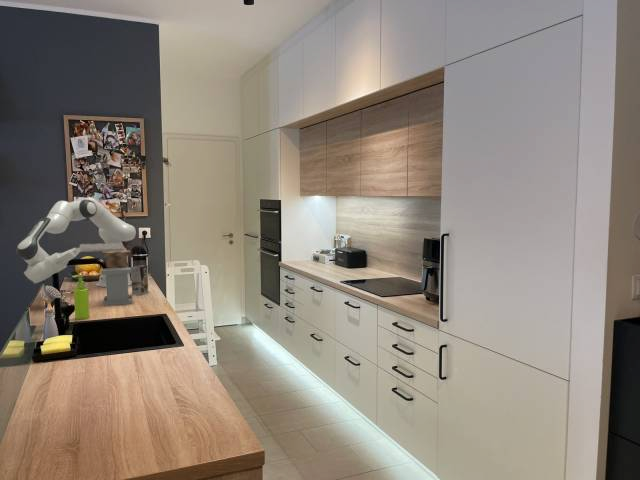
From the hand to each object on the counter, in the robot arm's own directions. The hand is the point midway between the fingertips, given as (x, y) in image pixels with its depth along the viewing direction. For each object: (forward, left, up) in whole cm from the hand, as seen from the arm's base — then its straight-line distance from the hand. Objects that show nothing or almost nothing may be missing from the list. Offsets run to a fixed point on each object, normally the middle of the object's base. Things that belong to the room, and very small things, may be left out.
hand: (84, 247), depth 255 cm
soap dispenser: (+21, -21, -30) cm, 42 cm away
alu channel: (+6, +6, -2) cm, 9 cm away
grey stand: (+12, +9, -30) cm, 33 cm away
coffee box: (+3, +34, -30) cm, 46 cm away
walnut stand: (+4, +17, -30) cm, 35 cm away
